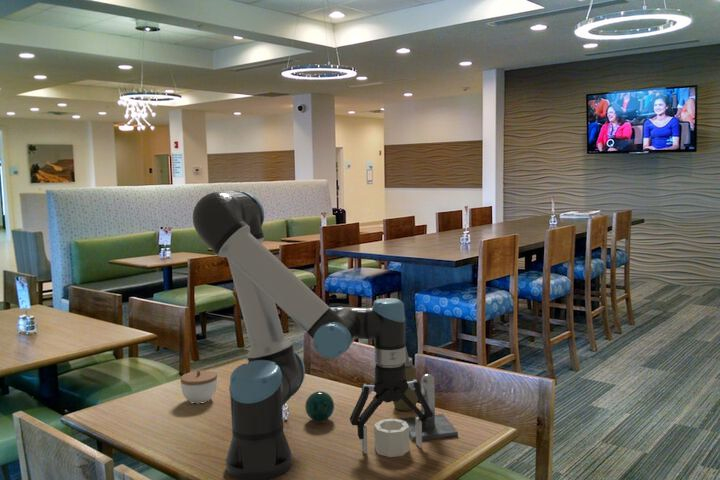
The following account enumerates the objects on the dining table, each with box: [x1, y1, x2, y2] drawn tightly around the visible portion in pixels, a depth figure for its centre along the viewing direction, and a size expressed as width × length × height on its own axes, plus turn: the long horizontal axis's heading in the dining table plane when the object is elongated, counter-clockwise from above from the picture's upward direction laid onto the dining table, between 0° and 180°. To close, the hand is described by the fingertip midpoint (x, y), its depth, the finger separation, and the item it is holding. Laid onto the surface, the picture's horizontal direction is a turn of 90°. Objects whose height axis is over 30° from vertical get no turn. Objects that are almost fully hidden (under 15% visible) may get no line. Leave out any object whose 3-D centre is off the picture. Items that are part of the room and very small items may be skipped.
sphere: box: [304, 390, 335, 422], centre depth 163 cm, size 8×8×8 cm
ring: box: [373, 418, 410, 458], centre depth 145 cm, size 8×8×6 cm
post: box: [399, 373, 459, 442], centre depth 155 cm, size 12×12×15 cm
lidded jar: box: [179, 369, 218, 403], centre depth 181 cm, size 11×11×9 cm
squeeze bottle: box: [392, 345, 419, 412], centre depth 170 cm, size 8×8×18 cm
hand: (392, 448), depth 145 cm, fingers open, 13 cm apart
